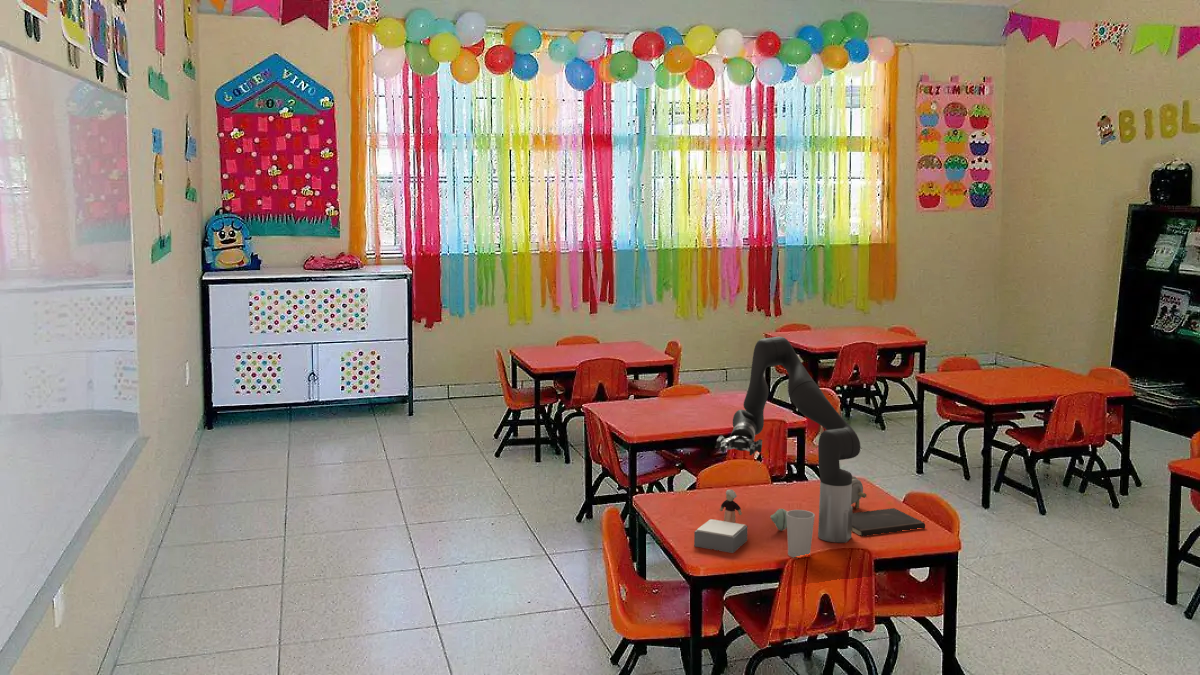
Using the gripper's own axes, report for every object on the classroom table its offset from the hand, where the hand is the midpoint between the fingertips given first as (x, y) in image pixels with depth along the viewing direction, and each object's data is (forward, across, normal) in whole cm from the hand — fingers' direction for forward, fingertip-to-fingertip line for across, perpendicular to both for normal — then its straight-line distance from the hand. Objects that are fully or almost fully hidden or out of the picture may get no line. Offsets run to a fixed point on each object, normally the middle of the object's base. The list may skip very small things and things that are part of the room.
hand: (737, 450), depth 327 cm
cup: (+28, +22, +20) cm, 41 cm away
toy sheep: (-22, +34, +23) cm, 46 cm away
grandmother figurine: (+12, 0, +22) cm, 25 cm away
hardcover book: (-6, +44, +22) cm, 50 cm away
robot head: (+8, +15, +22) cm, 28 cm away
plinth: (+24, -1, +21) cm, 32 cm away
